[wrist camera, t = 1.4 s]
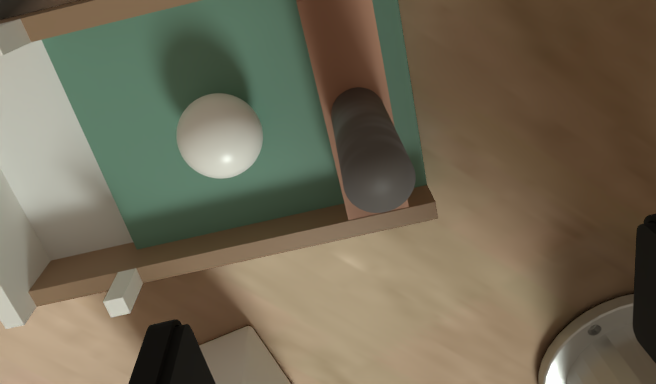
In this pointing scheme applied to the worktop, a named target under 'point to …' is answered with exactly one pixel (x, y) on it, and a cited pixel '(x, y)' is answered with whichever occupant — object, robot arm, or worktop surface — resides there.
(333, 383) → the worktop surface
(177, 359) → the robot arm
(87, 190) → the pitch
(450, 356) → the worktop surface
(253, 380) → the medicine bottle
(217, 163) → the ball
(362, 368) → the worktop surface
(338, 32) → the striker
